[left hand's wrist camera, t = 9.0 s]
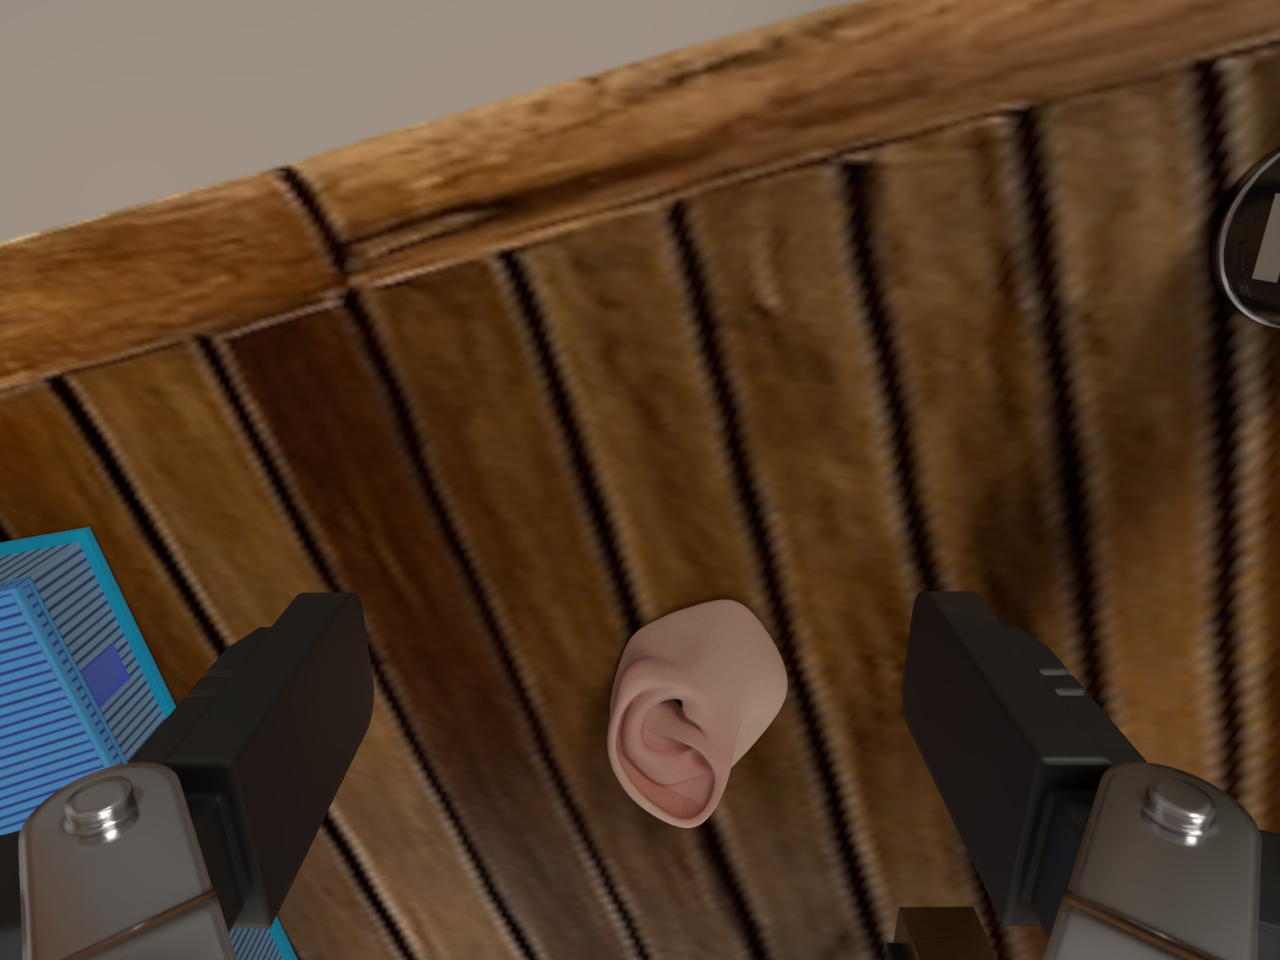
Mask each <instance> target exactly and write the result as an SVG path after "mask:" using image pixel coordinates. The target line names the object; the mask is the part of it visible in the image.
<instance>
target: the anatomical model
mask: <svg viewBox="0 0 1280 960" xmlns="http://www.w3.org/2000/svg"><path fill="white" fill-rule="evenodd" d="M787 686H788V685H787V674H786V669H785V666H784V663H783V660H782V658H781V655H780V653H779V651H778V649H777V647H776V645H775V644H774V642H773V640H772V638H771V637H770V635H769V634H768V632H767V631H766V629H765V628H764V626H763V625H762V624H761V622H760V621H759V620H758V619H757V618H756V616H755V615H754V614H753V613H752V612H751V611H750V610H749V609H748V608H747V607H745V606H744V605H742V604H741V603H738V602H736V601H733V600H715V601H710V602H706V603H701V604H698V605H695V606H692V607H689V608H686V609H682V610H679V611H676V612H673V613H671V614H668V615H666V616H664V617H662V618H660V619H658V620H656V621H654V622H651V623H649V624H647V625H645V626H644V627H642V628H641V629H639V630H638V631H637V632H636V633H635V634H634V635H633V636H632V637H631V639H630V640H629V642H628V644H627V646H626V648H625V650H624V652H623V655H622V658H621V661H620V663H619V667H618V670H617V673H616V677H615V681H614V685H613V689H612V695H611V702H610V721H609V726H608V734H607V748H608V755H609V759H610V762H611V765H612V768H613V770H614V773H615V775H616V776H617V778H618V780H619V782H620V783H621V785H622V786H623V788H624V789H625V791H626V792H627V793H628V794H629V795H630V797H631V798H632V799H633V800H634V801H635V802H636V803H637V804H639V805H640V806H641V807H642V808H644V809H645V810H647V811H648V812H649V813H651V814H652V815H654V816H656V817H657V818H659V819H661V820H663V821H665V822H667V823H669V824H672V825H675V826H678V827H683V828H691V827H695V826H698V825H700V824H701V823H703V822H704V821H705V820H706V819H707V818H708V817H709V816H710V815H711V814H712V812H713V811H714V809H715V808H716V806H717V804H718V802H719V800H720V798H721V796H722V794H723V792H724V789H725V787H726V784H727V781H728V778H729V774H730V770H731V767H732V766H733V765H734V764H735V763H736V762H737V761H738V760H739V759H740V758H741V757H742V756H743V755H744V754H745V753H746V752H747V751H748V750H749V749H750V748H751V746H752V745H753V744H754V743H755V742H756V741H757V739H758V738H759V737H760V736H761V735H762V734H763V732H764V731H765V730H766V729H767V727H768V726H769V725H770V723H771V722H772V721H773V719H774V718H775V716H776V715H777V714H778V712H779V710H780V708H781V707H782V705H783V702H784V700H785V697H786V693H787Z"/></svg>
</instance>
